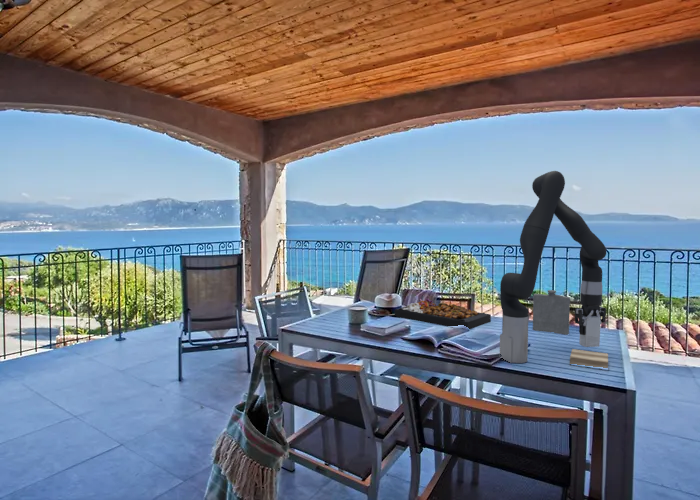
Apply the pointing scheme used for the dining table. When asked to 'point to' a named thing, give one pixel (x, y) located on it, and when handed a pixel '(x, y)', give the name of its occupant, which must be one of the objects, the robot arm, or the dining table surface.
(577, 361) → the oak stand
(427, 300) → the food platter
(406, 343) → the dining table surface
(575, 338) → the dining table surface
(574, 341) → the dining table surface
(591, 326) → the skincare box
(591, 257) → the robot arm
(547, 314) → the hip flask
